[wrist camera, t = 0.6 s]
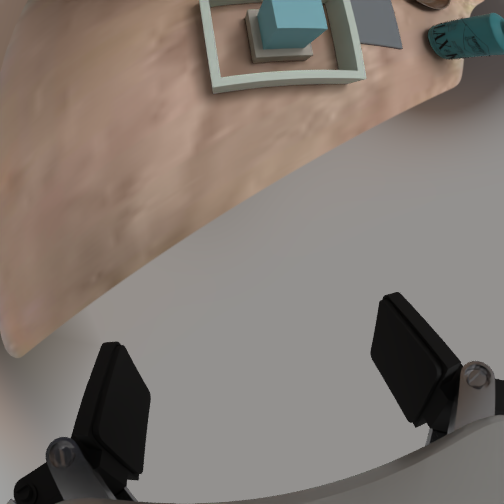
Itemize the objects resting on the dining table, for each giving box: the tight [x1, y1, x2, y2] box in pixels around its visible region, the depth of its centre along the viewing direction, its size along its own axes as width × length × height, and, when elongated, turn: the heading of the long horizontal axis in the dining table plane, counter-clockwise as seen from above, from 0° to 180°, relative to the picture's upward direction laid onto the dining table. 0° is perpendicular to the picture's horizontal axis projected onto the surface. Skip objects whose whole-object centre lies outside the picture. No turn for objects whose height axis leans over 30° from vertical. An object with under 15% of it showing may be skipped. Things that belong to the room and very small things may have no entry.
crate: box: [199, 0, 366, 94], centre depth 27 cm, size 14×18×6 cm
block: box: [257, 0, 328, 50], centre depth 23 cm, size 5×5×8 cm
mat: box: [350, 0, 403, 49], centre depth 28 cm, size 10×10×1 cm
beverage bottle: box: [428, 13, 504, 60], centre depth 21 cm, size 6×7×20 cm
